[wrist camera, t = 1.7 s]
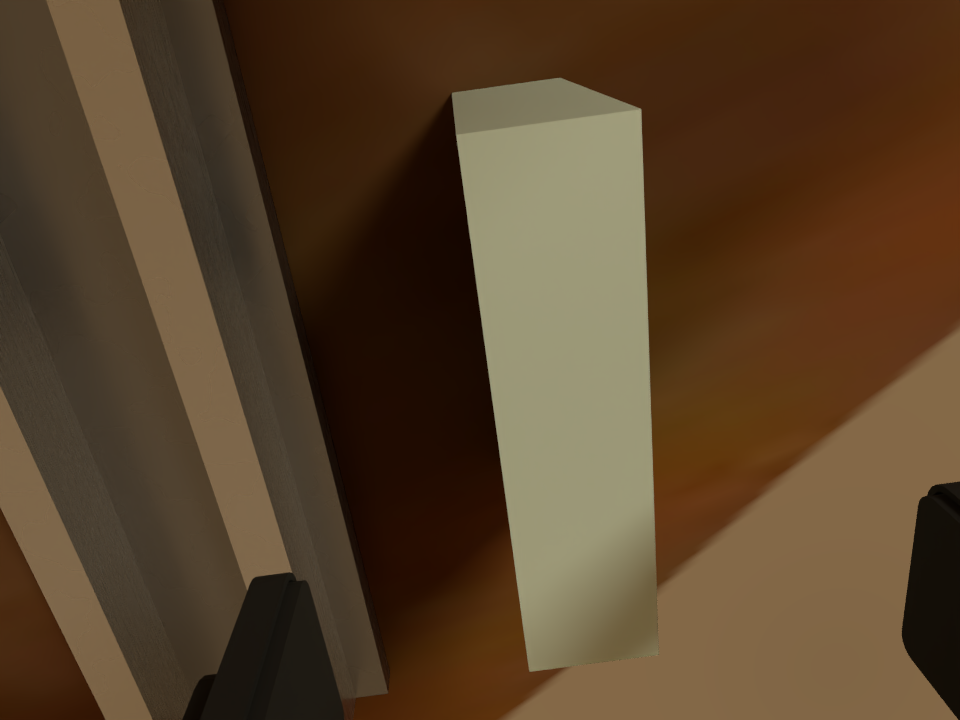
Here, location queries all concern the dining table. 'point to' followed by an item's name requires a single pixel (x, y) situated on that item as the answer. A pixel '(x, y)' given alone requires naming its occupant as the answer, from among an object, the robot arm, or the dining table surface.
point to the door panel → (567, 358)
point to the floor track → (157, 357)
